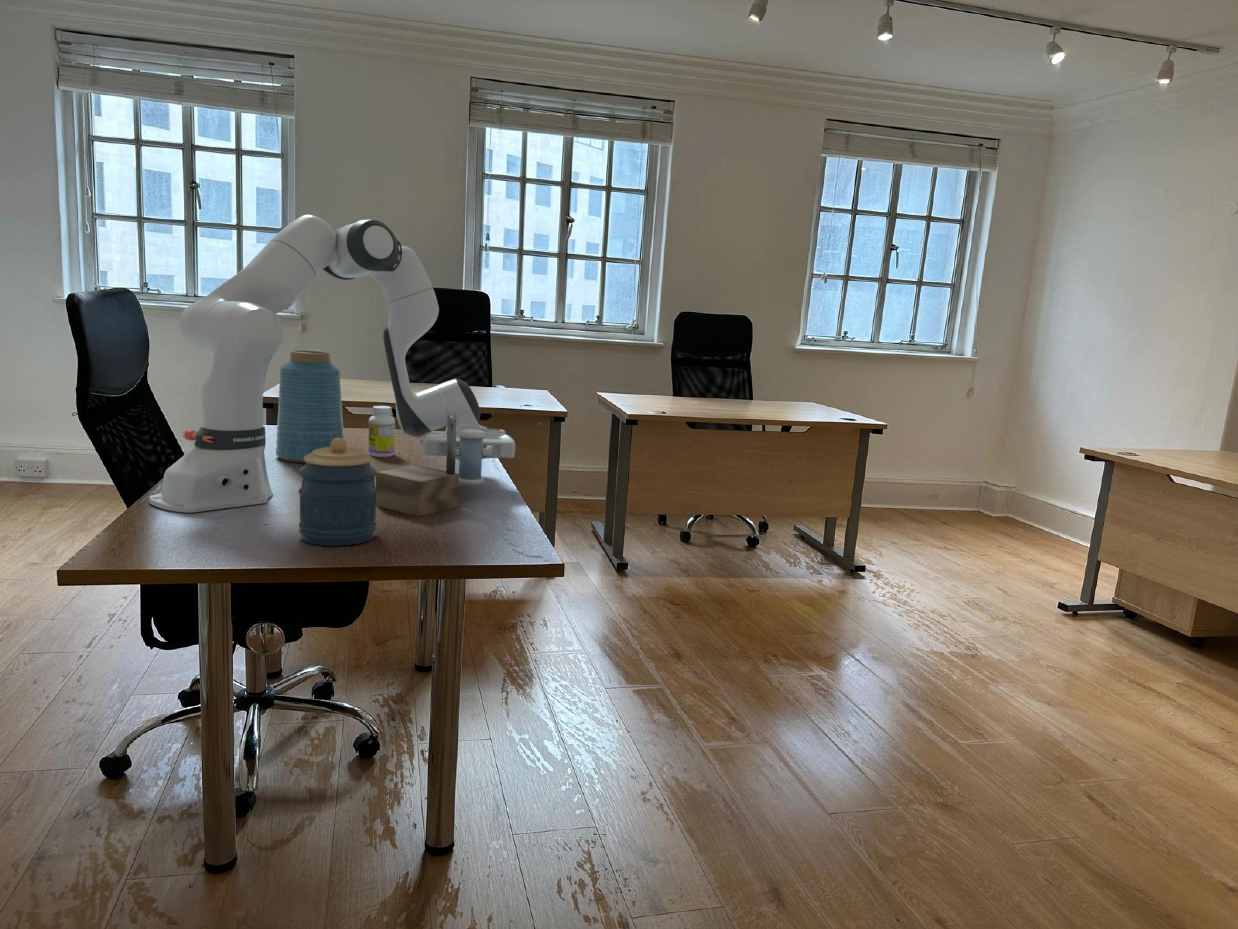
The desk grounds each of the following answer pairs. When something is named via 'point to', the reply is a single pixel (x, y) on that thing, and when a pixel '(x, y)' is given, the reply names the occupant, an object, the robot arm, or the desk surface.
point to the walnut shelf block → (416, 490)
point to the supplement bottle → (381, 432)
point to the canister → (337, 496)
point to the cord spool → (470, 456)
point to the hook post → (451, 444)
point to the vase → (308, 405)
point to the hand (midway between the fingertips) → (471, 452)
